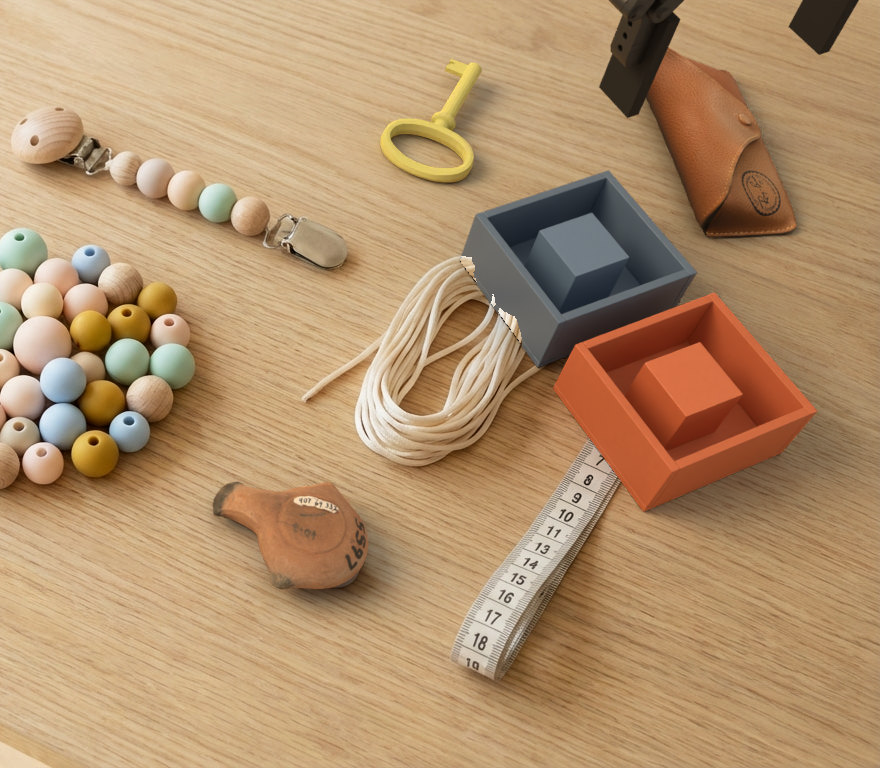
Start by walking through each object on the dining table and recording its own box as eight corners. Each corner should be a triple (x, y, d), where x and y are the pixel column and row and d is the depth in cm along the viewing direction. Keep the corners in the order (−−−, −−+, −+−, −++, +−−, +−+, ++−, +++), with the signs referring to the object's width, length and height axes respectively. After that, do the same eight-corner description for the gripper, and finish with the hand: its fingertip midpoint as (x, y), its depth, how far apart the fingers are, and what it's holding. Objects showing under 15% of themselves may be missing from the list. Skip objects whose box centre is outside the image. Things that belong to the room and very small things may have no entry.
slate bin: (586, 217, 91) (608, 169, 87) (670, 317, 86) (697, 272, 81) (458, 261, 88) (475, 213, 84) (537, 368, 83) (559, 323, 78)
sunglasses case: (808, 230, 90) (799, 176, 85) (710, 264, 93) (696, 215, 88) (726, 65, 100) (714, 9, 95) (640, 101, 103) (624, 48, 98)
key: (477, 80, 99) (484, 59, 97) (469, 189, 92) (476, 169, 90) (389, 66, 99) (394, 45, 97) (374, 174, 92) (379, 154, 90)
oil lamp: (318, 470, 78) (202, 509, 76) (322, 430, 75) (202, 470, 73) (383, 580, 73) (261, 625, 71) (391, 542, 70) (263, 588, 68)
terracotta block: (674, 380, 82) (700, 341, 78) (715, 431, 80) (743, 394, 76) (621, 401, 81) (644, 362, 77) (660, 453, 79) (686, 416, 75)
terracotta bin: (686, 336, 85) (714, 291, 81) (782, 452, 80) (818, 411, 75) (552, 388, 82) (575, 344, 78) (643, 512, 77) (672, 472, 72)
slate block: (572, 253, 88) (592, 212, 84) (608, 298, 86) (629, 257, 82) (521, 271, 87) (539, 230, 83) (556, 316, 84) (576, 276, 81)
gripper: (1050, -400, 57) (839, -22, 75) (615, -304, 51) (496, 84, 69) (1181, -326, 54) (927, 54, 71) (729, -213, 47) (572, 174, 65)
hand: (715, 69), depth 70 cm, fingers open, 13 cm apart
